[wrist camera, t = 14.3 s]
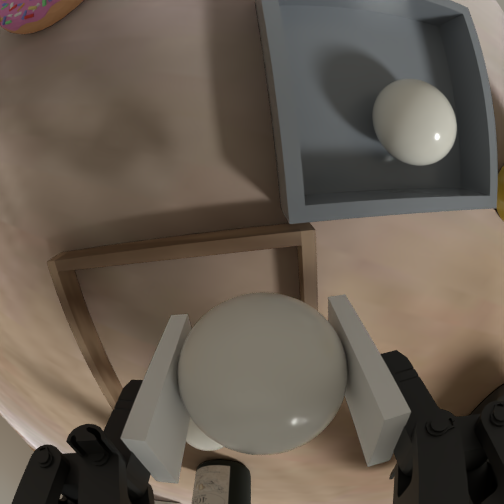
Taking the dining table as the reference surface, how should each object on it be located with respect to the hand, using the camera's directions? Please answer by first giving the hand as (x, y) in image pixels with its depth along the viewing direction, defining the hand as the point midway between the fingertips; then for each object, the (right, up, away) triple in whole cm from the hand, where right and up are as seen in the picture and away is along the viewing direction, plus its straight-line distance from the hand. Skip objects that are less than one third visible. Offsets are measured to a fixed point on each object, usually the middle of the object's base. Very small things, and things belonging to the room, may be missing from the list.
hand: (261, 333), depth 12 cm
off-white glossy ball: (+10, +13, +6) cm, 17 cm away
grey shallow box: (+9, +16, +6) cm, 19 cm away
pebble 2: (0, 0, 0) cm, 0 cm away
